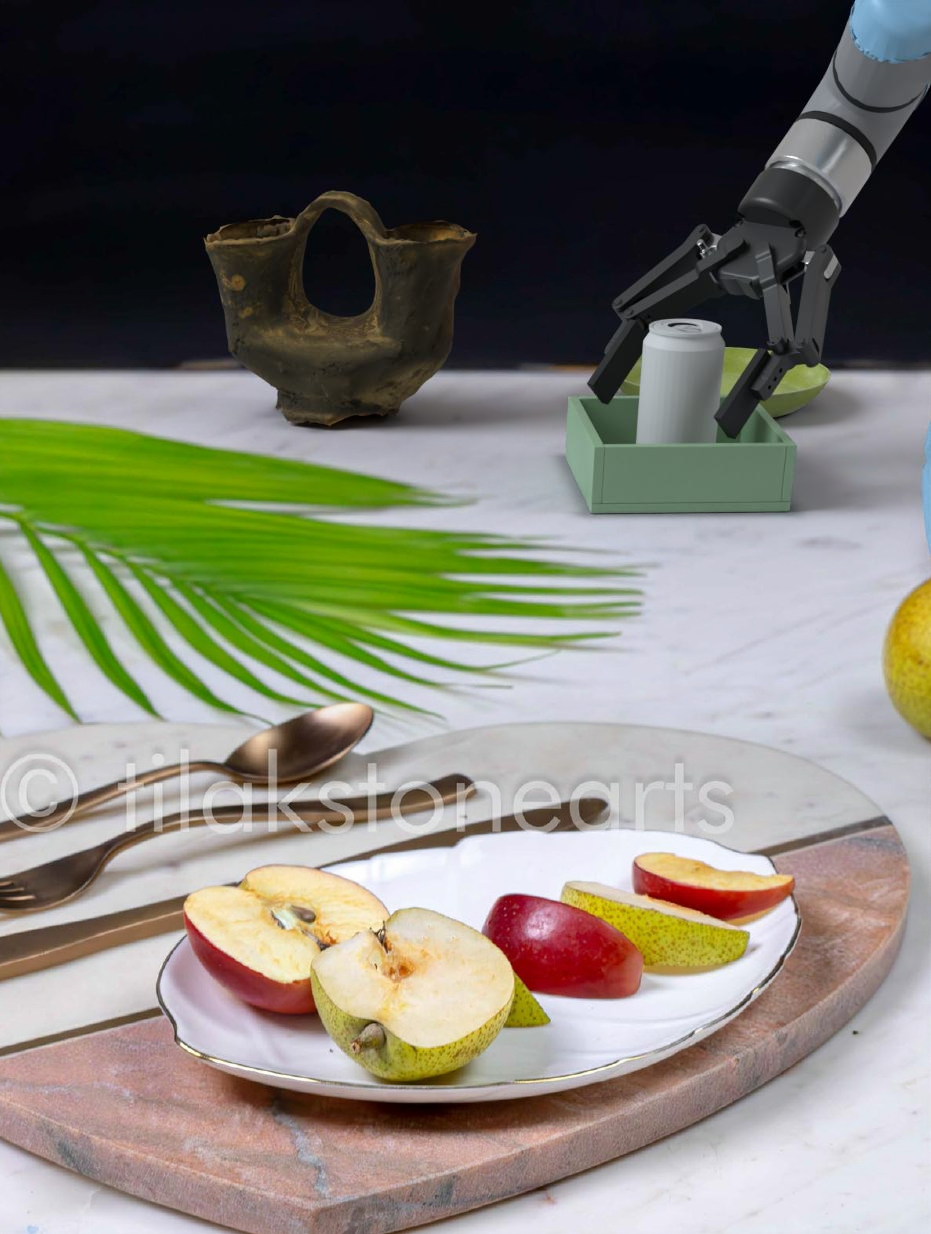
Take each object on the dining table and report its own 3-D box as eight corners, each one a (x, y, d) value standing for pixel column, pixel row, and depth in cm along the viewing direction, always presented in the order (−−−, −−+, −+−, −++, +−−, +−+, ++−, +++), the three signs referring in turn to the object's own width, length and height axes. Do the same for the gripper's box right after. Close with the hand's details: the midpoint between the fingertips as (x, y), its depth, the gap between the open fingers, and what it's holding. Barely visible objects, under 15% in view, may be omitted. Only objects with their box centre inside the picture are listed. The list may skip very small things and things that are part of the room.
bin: (745, 455, 146) (751, 394, 144) (789, 511, 132) (797, 445, 130) (565, 457, 146) (568, 396, 144) (590, 513, 132) (594, 447, 130)
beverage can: (698, 460, 142) (711, 314, 137) (723, 483, 136) (738, 331, 131) (624, 464, 141) (634, 317, 136) (647, 486, 136) (658, 334, 130)
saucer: (861, 396, 164) (865, 362, 163) (769, 443, 150) (773, 407, 148) (669, 366, 175) (672, 335, 174) (566, 408, 161) (568, 374, 159)
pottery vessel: (483, 409, 160) (489, 188, 151) (460, 440, 151) (466, 206, 142) (230, 394, 166) (222, 180, 157) (194, 422, 156) (182, 196, 147)
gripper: (949, 246, 130) (801, 472, 129) (703, 208, 148) (570, 407, 146) (917, 179, 125) (763, 414, 124) (666, 148, 142) (527, 354, 141)
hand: (658, 411), depth 135 cm, fingers open, 13 cm apart
